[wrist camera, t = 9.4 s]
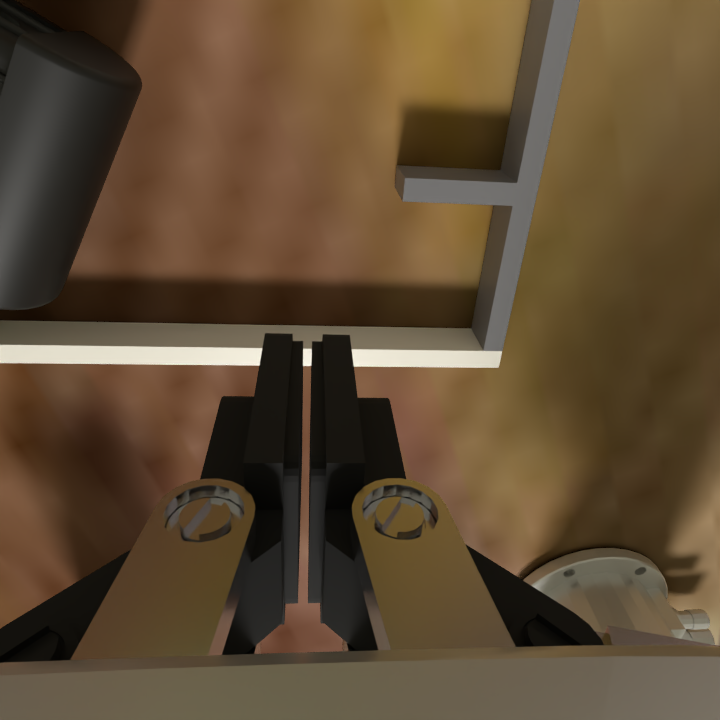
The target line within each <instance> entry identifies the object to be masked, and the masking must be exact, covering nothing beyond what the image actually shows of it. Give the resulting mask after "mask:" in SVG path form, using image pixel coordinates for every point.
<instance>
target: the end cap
mask: <svg viewBox="0 0 720 720" xmlns="http://www.w3.org/2000/svg"><path fill="white" fill-rule="evenodd" d="M141 89H142V82H141V78H140V76H139V75H138V73H137V72H136V71H135V69H134V68H133V67H132V66H131V65H130V64H129V63H128V62H126V61H125V60H124V59H123V58H122V57H120V56H119V55H118V54H116V53H115V52H114V51H112V50H111V49H110V48H108V47H107V46H105V45H104V44H102V43H101V42H99V41H98V40H96V39H95V38H93V37H92V36H90V35H88V34H87V33H85V32H84V31H72V32H67V31H65V30H64V29H62V28H60V27H59V26H57V25H55V24H54V23H52V22H50V21H49V20H47V19H45V18H44V17H42V16H40V15H39V14H37V13H35V12H34V11H32V10H30V9H29V8H27V7H25V6H24V5H22V4H20V3H19V2H17V1H15V0H0V309H3V310H23V309H31V308H36V307H41V306H43V305H45V304H48V303H50V302H52V301H53V300H54V299H55V298H57V297H58V296H59V294H60V292H61V291H62V289H63V287H64V284H65V282H66V279H67V276H68V274H69V271H70V269H71V266H72V264H73V261H74V259H75V256H76V254H77V251H78V249H79V246H80V243H81V241H82V238H83V236H84V233H85V231H86V228H87V226H88V223H89V221H90V218H91V216H92V213H93V211H94V208H95V205H96V203H97V200H98V198H99V195H100V193H101V190H102V188H103V185H104V183H105V180H106V178H107V175H108V172H109V170H110V167H111V165H112V162H113V160H114V157H115V155H116V152H117V150H118V147H119V145H120V142H121V140H122V137H123V134H124V132H125V129H126V127H127V124H128V122H129V119H130V117H131V114H132V112H133V109H134V107H135V104H136V101H137V99H138V96H139V94H140V91H141Z"/></svg>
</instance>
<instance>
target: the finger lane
mask: <svg viewBox="0 0 720 720" xmlns="http://www.w3.org/2000/svg"><path fill="white" fill-rule="evenodd" d="M579 2H580V0H532V2H531V7H530V12H529V18H528V23H527V29H526V34H525V39H524V45H523V50H522V56H521V61H520V67H519V72H518V77H517V83H516V88H515V94H514V99H513V104H512V110H511V115H510V121H509V126H508V132H507V137H506V142H505V148H504V153H503V159H502V164H501V169H500V170H484V169H463V168H443V167H422V166H401V165H397V169H396V179H395V188H396V190H397V192H398V194H399V196H400V197H401V199H402V201H407V202H431V203H455V204H480V205H494V207H493V213H492V218H491V224H490V229H489V234H488V240H487V245H486V251H485V256H484V262H483V267H482V272H481V278H480V283H479V289H478V294H477V299H476V305H475V310H474V316H473V321H472V327H471V328H416V327H358V326H300V325H243V324H185V323H127V322H69V321H11V320H0V363H66V364H168V365H260V359H261V353H262V348H263V342H264V336H265V333H283V334H293V341H303V366H311V363H312V341H322V337H323V334H332V335H350V340H351V348H352V357H353V365H354V366H374V367H476V368H499V364H500V359H501V355H502V350H503V346H504V341H505V337H506V332H507V327H508V323H509V318H510V314H511V309H512V305H513V300H514V296H515V291H516V287H517V282H518V278H519V273H520V269H521V264H522V260H523V255H524V251H525V246H526V242H527V237H528V233H529V228H530V223H531V219H532V214H533V210H534V205H535V201H536V196H537V192H538V187H539V183H540V178H541V174H542V169H543V165H544V160H545V156H546V151H547V147H548V142H549V138H550V133H551V129H552V124H553V119H554V115H555V110H556V106H557V101H558V97H559V92H560V88H561V83H562V79H563V74H564V70H565V65H566V61H567V56H568V52H569V47H570V43H571V38H572V34H573V29H574V25H575V20H576V15H577V11H578V6H579Z"/></svg>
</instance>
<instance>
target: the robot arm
mask: <svg viewBox="0 0 720 720" xmlns="http://www.w3.org/2000/svg"><path fill="white" fill-rule="evenodd" d="M302 410H303V341H293V334H283V333H265V336H264V342H263V348H262V353H261V359H260V365H259V371H258V377H257V383H256V389H255V395H254V397H243V396H223V397H222V399H221V401H220V405H219V409H218V413H217V417H216V420H215V424H214V428H213V432H212V436H211V440H210V443H209V447H208V451H207V455H206V459H205V463H204V467H203V470H202V474H201V478H200V480H196V481H191V482H188V483H186V484H183V485H181V486H179V487H176V488H175V489H173V490H172V491H170V492H169V493H168V494H166V495H165V496H164V497H163V498H162V499H161V500H160V502H159V503H158V504H157V505H156V507H155V508H154V510H153V512H152V514H151V515H150V517H149V519H148V521H147V523H146V524H145V526H144V528H143V530H142V532H141V533H140V535H139V537H138V539H137V541H136V542H135V544H134V546H133V548H132V549H131V550H129V551H128V552H126V553H124V554H123V555H121V556H119V557H118V558H116V559H114V560H113V561H111V562H110V563H108V564H106V565H105V566H103V567H101V568H100V569H98V570H96V571H95V572H93V573H91V574H90V575H88V576H86V577H85V578H83V579H81V580H80V581H78V582H76V583H75V584H73V585H71V586H70V587H68V588H67V589H65V590H63V591H62V592H60V593H58V594H57V595H55V596H53V597H52V598H50V599H48V600H47V601H45V602H43V603H42V604H40V605H38V606H37V607H35V608H33V609H32V610H30V611H28V612H27V613H25V614H24V615H22V616H20V617H19V618H17V619H15V620H14V621H12V622H10V623H9V624H7V625H5V626H4V627H2V628H1V629H0V720H720V646H717V645H715V643H714V638H713V635H712V633H711V631H710V630H709V629H708V628H709V625H710V620H709V617H708V615H707V613H706V612H705V611H704V610H701V609H693V610H684V611H677V610H676V609H674V608H672V607H671V605H670V604H669V602H668V601H667V596H668V587H667V584H666V581H665V578H664V577H663V575H662V574H661V572H660V571H659V569H658V567H657V566H656V565H655V564H654V563H653V562H652V561H651V560H650V559H648V558H647V557H645V556H643V555H641V554H640V553H636V552H633V551H630V550H625V549H617V548H595V549H589V550H583V551H578V552H575V553H571V554H568V555H565V556H562V557H560V558H557V559H555V560H553V561H550V562H548V563H547V564H545V565H543V566H541V567H540V568H538V569H536V570H535V571H534V572H532V573H531V574H530V575H528V576H527V577H526V578H525V579H524V580H521V579H520V578H518V577H517V576H515V575H513V574H512V573H510V572H509V571H507V570H506V569H504V568H502V567H501V566H499V565H498V564H496V563H494V562H493V561H491V560H490V559H488V558H486V557H485V556H483V555H482V554H480V553H478V552H477V551H475V550H474V549H472V548H470V547H469V546H467V545H466V544H465V543H464V541H463V539H462V537H461V535H460V533H459V530H458V528H457V526H456V524H455V522H454V520H453V518H452V516H451V514H450V512H449V510H448V508H447V506H446V504H445V503H444V502H443V500H442V499H441V497H440V496H439V495H438V494H437V493H435V492H434V491H433V490H432V489H430V488H429V487H427V486H425V485H423V484H420V483H418V482H416V481H412V480H407V479H406V476H405V471H404V467H403V462H402V457H401V452H400V448H399V443H398V438H397V433H396V428H395V424H394V419H393V414H392V409H391V405H390V401H389V399H388V398H357V390H356V382H355V373H354V365H353V357H352V348H351V340H350V335H332V334H323V337H322V341H312V363H311V415H310V473H309V564H308V603H320V611H321V623H325V624H326V625H327V626H328V627H329V628H331V629H332V630H333V631H334V632H335V633H336V634H338V635H339V636H340V637H341V638H342V639H343V641H342V645H343V651H342V652H307V653H273V654H260V653H261V640H263V639H264V638H265V637H266V636H267V635H268V634H269V633H271V632H272V631H273V630H274V629H275V628H276V627H278V626H279V625H280V624H284V620H285V604H288V603H298V576H299V542H300V508H301V474H302Z"/></svg>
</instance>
